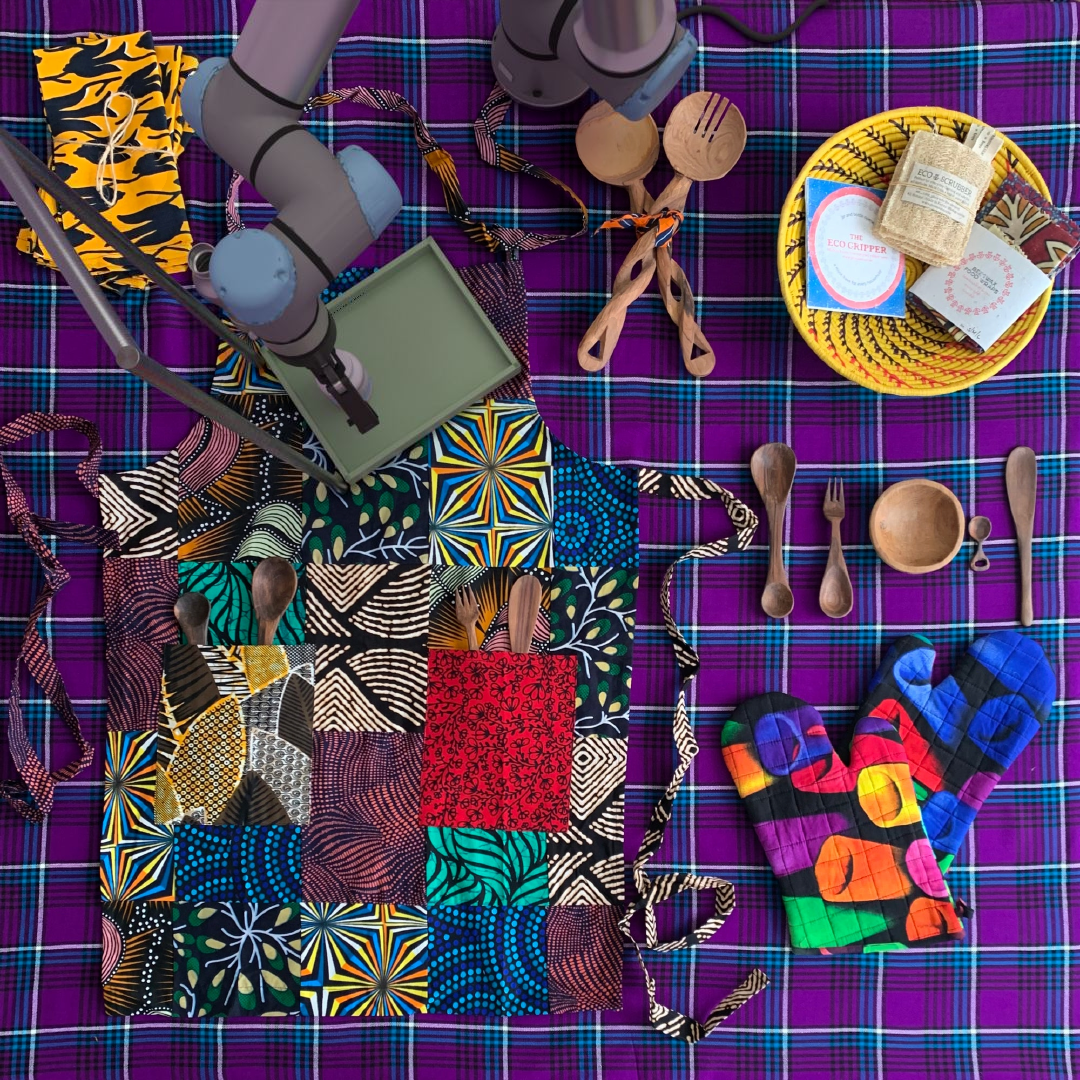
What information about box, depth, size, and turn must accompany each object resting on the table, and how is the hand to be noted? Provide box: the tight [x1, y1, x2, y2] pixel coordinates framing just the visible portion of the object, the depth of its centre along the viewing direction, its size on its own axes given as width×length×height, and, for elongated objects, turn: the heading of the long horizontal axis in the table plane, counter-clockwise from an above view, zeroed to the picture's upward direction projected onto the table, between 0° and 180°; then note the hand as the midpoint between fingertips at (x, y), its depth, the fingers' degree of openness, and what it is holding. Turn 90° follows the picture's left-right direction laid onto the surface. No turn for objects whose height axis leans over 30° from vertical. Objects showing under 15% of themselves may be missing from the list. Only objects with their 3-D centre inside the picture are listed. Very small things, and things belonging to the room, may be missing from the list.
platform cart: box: [0, 124, 522, 495], centre depth 93 cm, size 30×22×62 cm
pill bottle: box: [315, 349, 373, 408], centre depth 118 cm, size 6×6×11 cm
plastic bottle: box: [186, 242, 250, 334], centre depth 115 cm, size 6×7×20 cm
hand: (339, 377), depth 116 cm, fingers open, 13 cm apart
